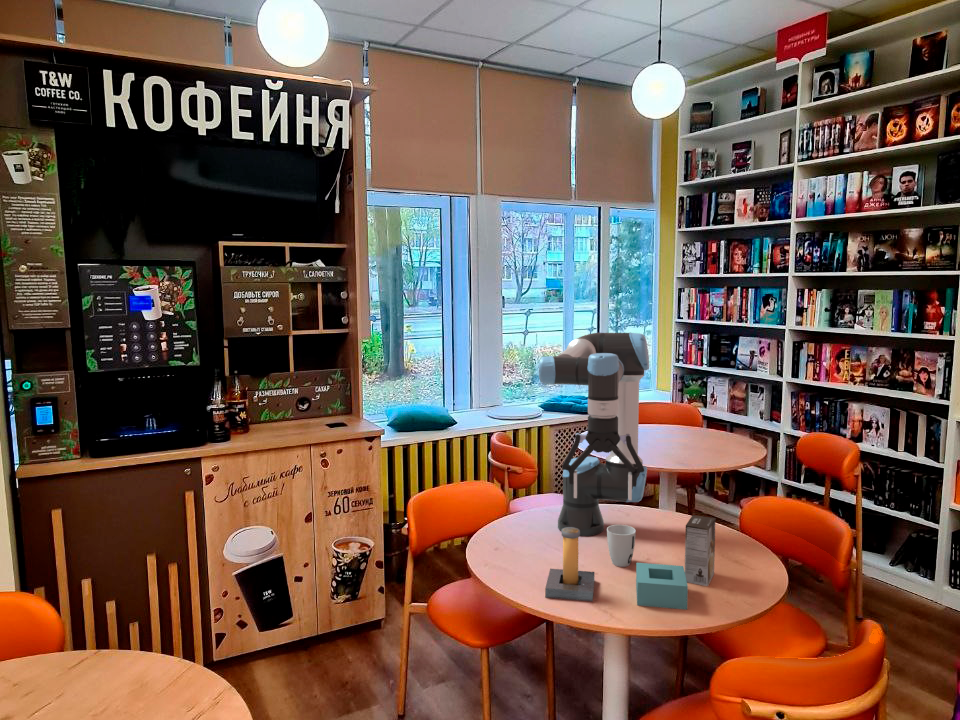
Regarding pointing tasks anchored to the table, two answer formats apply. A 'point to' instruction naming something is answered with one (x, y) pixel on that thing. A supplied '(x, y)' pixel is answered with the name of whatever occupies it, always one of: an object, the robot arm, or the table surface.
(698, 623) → the table surface
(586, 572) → the mount
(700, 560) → the coffee box
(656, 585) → the socket
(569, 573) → the pin
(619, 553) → the cup
